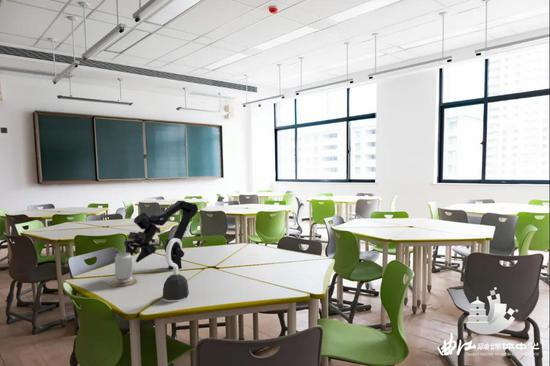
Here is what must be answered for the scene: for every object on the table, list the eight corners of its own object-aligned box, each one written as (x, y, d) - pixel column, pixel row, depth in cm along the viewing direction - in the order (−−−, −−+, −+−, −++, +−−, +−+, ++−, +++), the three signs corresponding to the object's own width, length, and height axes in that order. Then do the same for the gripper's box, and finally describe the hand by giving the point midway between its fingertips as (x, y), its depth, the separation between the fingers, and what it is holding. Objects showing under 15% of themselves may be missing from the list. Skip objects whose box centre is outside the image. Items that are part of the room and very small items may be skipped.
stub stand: (137, 278, 177) (137, 273, 177) (136, 285, 165) (135, 280, 165) (111, 281, 173) (111, 276, 173) (108, 288, 162) (107, 283, 162)
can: (112, 280, 165) (112, 255, 165) (118, 276, 173) (118, 251, 173) (128, 280, 166) (128, 254, 166) (134, 275, 173) (133, 251, 173)
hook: (172, 292, 155) (170, 235, 154) (194, 294, 152) (193, 236, 151) (156, 300, 144) (155, 240, 144) (179, 303, 141) (178, 241, 140)
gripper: (126, 224, 181) (107, 250, 172) (150, 226, 172) (132, 253, 163) (139, 237, 188) (122, 262, 179) (163, 239, 179) (146, 266, 170)
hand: (130, 261), depth 172 cm, fingers open, 9 cm apart
